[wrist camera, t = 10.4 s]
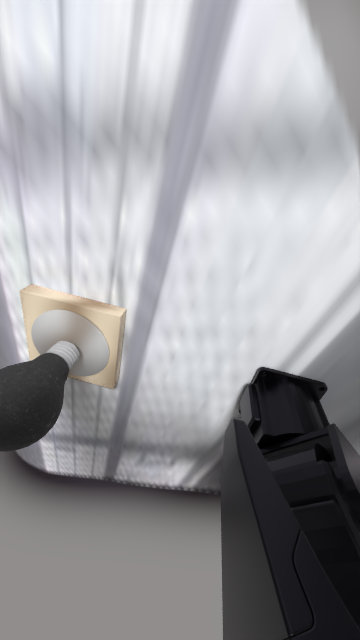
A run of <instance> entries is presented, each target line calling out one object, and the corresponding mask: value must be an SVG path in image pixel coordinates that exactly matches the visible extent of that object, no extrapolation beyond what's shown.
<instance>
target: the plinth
mask: <svg viewBox="0 0 360 640" xmlns="http://www.w3.org/2000/svg"><path fill="white" fill-rule="evenodd" d="M20 296H21V303H22V310H23V316H24V323H25V330H26V337H27V344H28V351H29V358H30V361H31V360H33V359H35V358H37V357H38V356H40V355H42V354H44V353H46V352H47V351H48V350H49V349H50V348H51V347H52V346H53V345H55V344H56V343H57V342H59V341H67V342H70V343H73V344H74V345H75V346H76V348H77V349H78V351H79V358H78V360H77V362H76V363H75V365H74V366H73V367H72V368H71V369H70V371H69V375H68V377H70V378H74V379H77V380H81V381H85V382H89V383H92V384H96V385H100V386H104V387H107V388H111V389H114V387H115V385H116V383H117V381H118V379H119V372H120V362H121V353H122V344H123V335H124V326H125V317H126V309H125V308H121V307H117V306H113V305H109V304H105V303H102V302H98V301H94V300H90V299H86V298H82V297H78V296H75V295H71V294H67V293H63V292H59V291H55V290H52V289H48V288H44V287H40V286H36V285H32V284H31V285H29V286H27V287H26V288H24V289H22V290H20Z"/></svg>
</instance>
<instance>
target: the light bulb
mask: <svg viewBox="0 0 360 640" xmlns="http://www.w3.org/2000/svg"><path fill="white" fill-rule="evenodd" d="M78 358H79V351H78V349H77V348H76V346H75V345H74V344H73V343H70V342H67V341H59V342H57V343H56V344H55V345H53V346H52V347H51V348H50V349H49V350H48V351H47V352H46V353H44V354H42V355H40V356H38V357H37V358H35V359H33V360H31V361H28V362H24V363H19V364H15V365H11V366H7V367H5V368H3V369H1V370H0V451H13V450H18V449H21V448H24V447H28V446H30V445H31V444H33V443H35V442H37V441H38V440H40V439H41V438H42V437H44V436H45V435H46V434H47V433H48V431H49V430H50V429H51V428H52V427H53V426H54V424H55V423H56V421H57V419H58V417H59V414H60V412H61V409H62V405H63V397H64V384H65V381H66V379H67V377H68V375H69V371H70V369H71V368H72V367H73V366H74V365H75V363H76V362H77V360H78Z"/></svg>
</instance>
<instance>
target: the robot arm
mask: <svg viewBox="0 0 360 640" xmlns="http://www.w3.org/2000/svg"><path fill="white" fill-rule="evenodd" d="M262 372H265V373H262ZM320 387H322V388H320ZM326 391H327V386H326V384H325V383H323V382H320V381H316V380H312V379H308V378H304V377H300V376H297V375H293V374H289V373H285V372H281V371H278V370H274V369H270V368H266V367H261V368H259V369H258V371H257V373H256V375H255V377H254V379H253V381H252V383H250V384H249V385H248V386H247V388H246V390H245V392H244V394H243V396H242V398H241V400H240V406H239V413H240V414H241V419H238V418H232V420H231V422H230V424H229V426H228V428H227V430H226V432H225V438H224V449H223V460H222V471H221V532H222V534H221V536H222V592H223V593H222V598H223V640H360V455H359V454H358V453H357V452H356V450H355V449H354V448H353V447H352V445H351V444H350V443H349V441H348V440H347V439H346V438H345V436H344V435H343V434H342V433H341V431H340V430H339V429H338V427H337V426H336V425H335V424H331V425H330V424H329V422H328V420H327V417H326V415H325V412H324V410H323V408H322V405H321V403H320V401H319V400H320V399H321V398H322V396H323V395H324V394H325V392H326Z"/></svg>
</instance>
